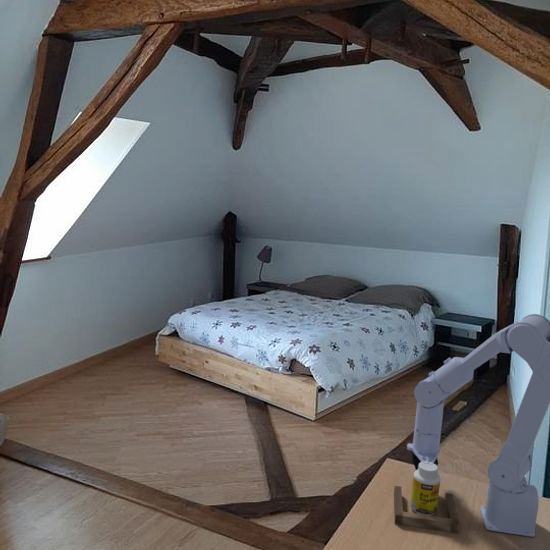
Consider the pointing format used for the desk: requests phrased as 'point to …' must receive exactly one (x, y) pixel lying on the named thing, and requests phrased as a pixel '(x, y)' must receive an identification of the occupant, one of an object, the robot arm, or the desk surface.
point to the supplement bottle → (425, 489)
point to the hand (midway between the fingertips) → (421, 484)
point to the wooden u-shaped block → (425, 520)
